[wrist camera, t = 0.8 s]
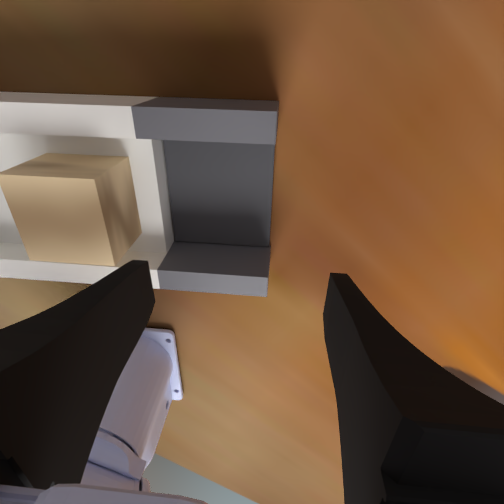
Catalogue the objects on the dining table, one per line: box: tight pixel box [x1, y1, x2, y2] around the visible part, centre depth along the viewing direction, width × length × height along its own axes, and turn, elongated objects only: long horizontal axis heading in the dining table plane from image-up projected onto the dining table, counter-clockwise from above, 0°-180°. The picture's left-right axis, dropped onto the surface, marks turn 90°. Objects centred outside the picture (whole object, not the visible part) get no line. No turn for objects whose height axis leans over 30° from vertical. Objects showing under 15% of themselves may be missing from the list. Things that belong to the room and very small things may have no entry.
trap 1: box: [163, 140, 275, 247], centre depth 22 cm, size 8×7×1 cm
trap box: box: [0, 92, 279, 297], centre depth 21 cm, size 11×34×4 cm, turn 89°
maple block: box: [0, 153, 142, 266], centre depth 19 cm, size 5×5×4 cm
